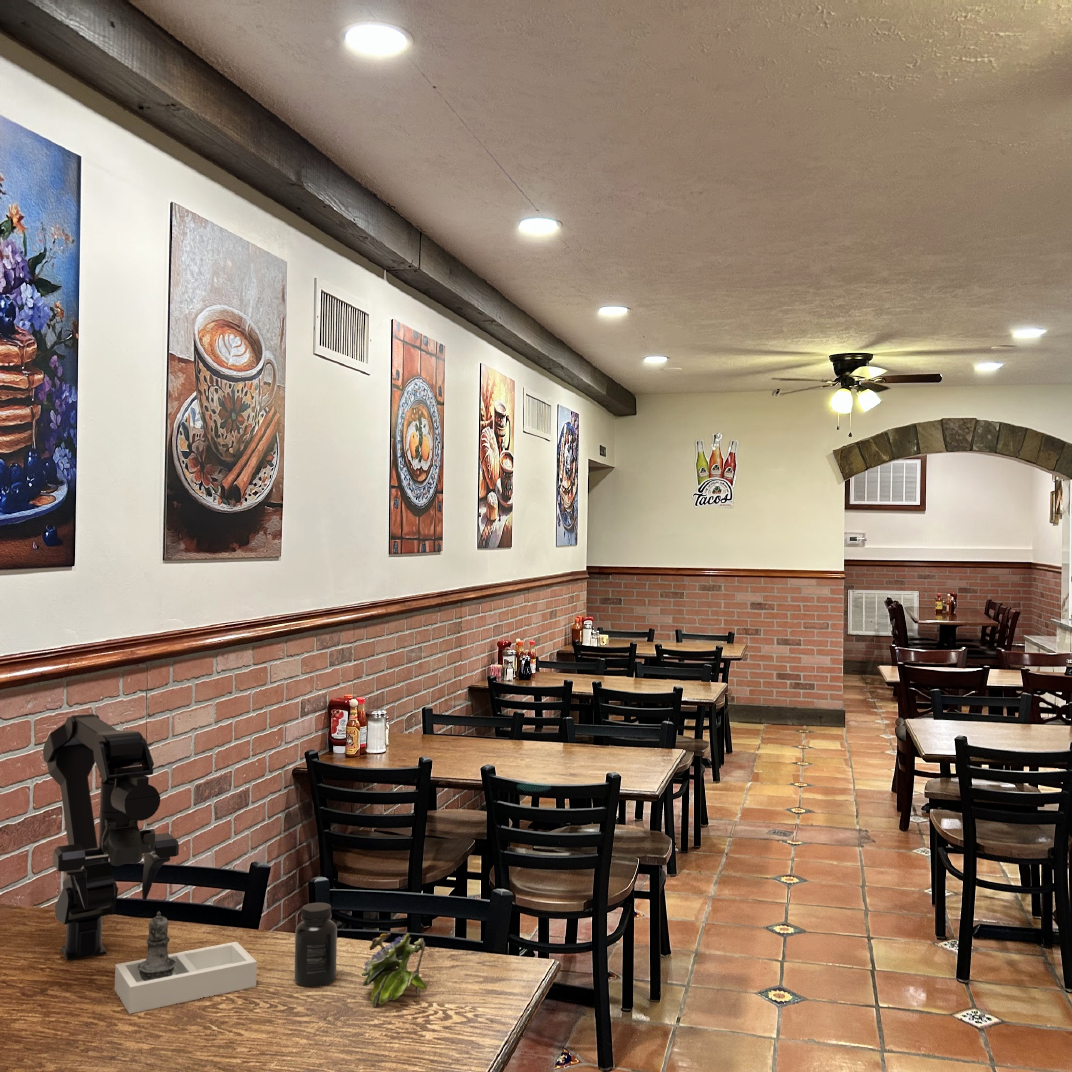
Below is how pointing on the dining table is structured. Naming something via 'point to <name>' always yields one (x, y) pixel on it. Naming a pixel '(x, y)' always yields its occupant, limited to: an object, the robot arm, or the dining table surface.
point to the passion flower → (392, 968)
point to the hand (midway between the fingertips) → (115, 903)
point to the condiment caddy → (187, 977)
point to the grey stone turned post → (157, 951)
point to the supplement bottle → (315, 946)
